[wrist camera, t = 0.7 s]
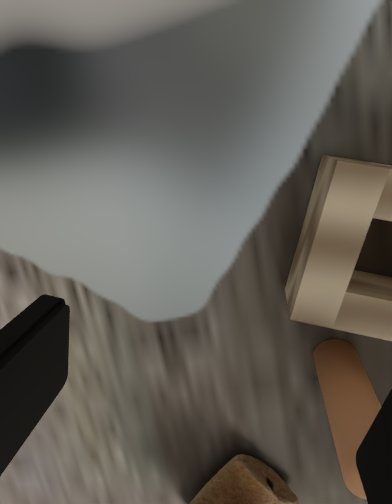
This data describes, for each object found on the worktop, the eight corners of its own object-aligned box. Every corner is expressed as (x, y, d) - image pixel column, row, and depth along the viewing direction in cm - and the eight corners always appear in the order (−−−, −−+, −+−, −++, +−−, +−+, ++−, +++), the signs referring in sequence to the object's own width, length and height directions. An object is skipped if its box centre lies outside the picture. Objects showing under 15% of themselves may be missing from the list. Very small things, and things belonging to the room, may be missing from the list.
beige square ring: (422, 318, 28) (455, 354, 24) (284, 289, 30) (290, 319, 25) (488, 181, 24) (544, 193, 19) (322, 154, 25) (337, 160, 21)
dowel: (349, 377, 32) (399, 508, 21) (308, 367, 32) (335, 491, 21) (362, 344, 30) (424, 467, 19) (319, 334, 31) (355, 449, 20)
